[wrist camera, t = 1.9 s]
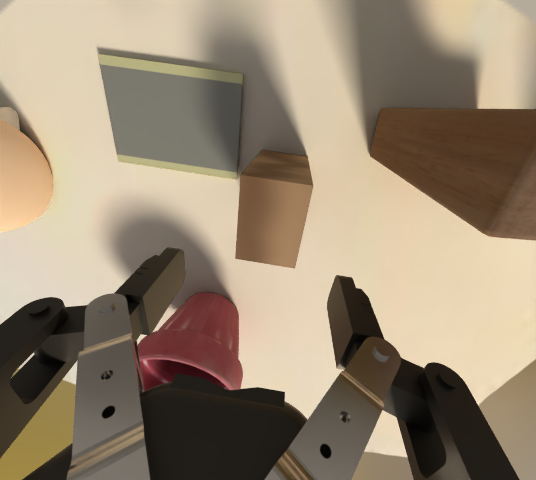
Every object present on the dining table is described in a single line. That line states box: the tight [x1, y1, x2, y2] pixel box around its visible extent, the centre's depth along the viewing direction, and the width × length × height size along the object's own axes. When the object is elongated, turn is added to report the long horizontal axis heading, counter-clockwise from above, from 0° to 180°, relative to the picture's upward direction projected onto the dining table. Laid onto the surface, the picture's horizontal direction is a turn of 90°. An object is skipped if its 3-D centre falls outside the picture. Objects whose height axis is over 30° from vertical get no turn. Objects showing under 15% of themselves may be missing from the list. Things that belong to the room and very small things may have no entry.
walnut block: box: [235, 150, 313, 268], centre depth 23 cm, size 5×7×11 cm
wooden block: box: [370, 108, 536, 240], centre depth 16 cm, size 9×4×18 cm, turn 88°
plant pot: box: [138, 292, 243, 391], centre depth 34 cm, size 14×14×13 cm
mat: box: [98, 54, 243, 179], centre depth 25 cm, size 14×10×1 cm
